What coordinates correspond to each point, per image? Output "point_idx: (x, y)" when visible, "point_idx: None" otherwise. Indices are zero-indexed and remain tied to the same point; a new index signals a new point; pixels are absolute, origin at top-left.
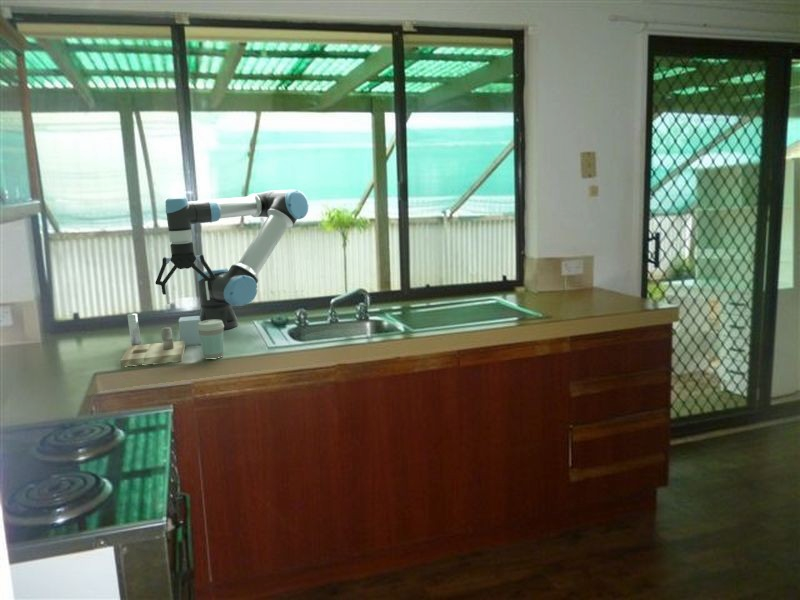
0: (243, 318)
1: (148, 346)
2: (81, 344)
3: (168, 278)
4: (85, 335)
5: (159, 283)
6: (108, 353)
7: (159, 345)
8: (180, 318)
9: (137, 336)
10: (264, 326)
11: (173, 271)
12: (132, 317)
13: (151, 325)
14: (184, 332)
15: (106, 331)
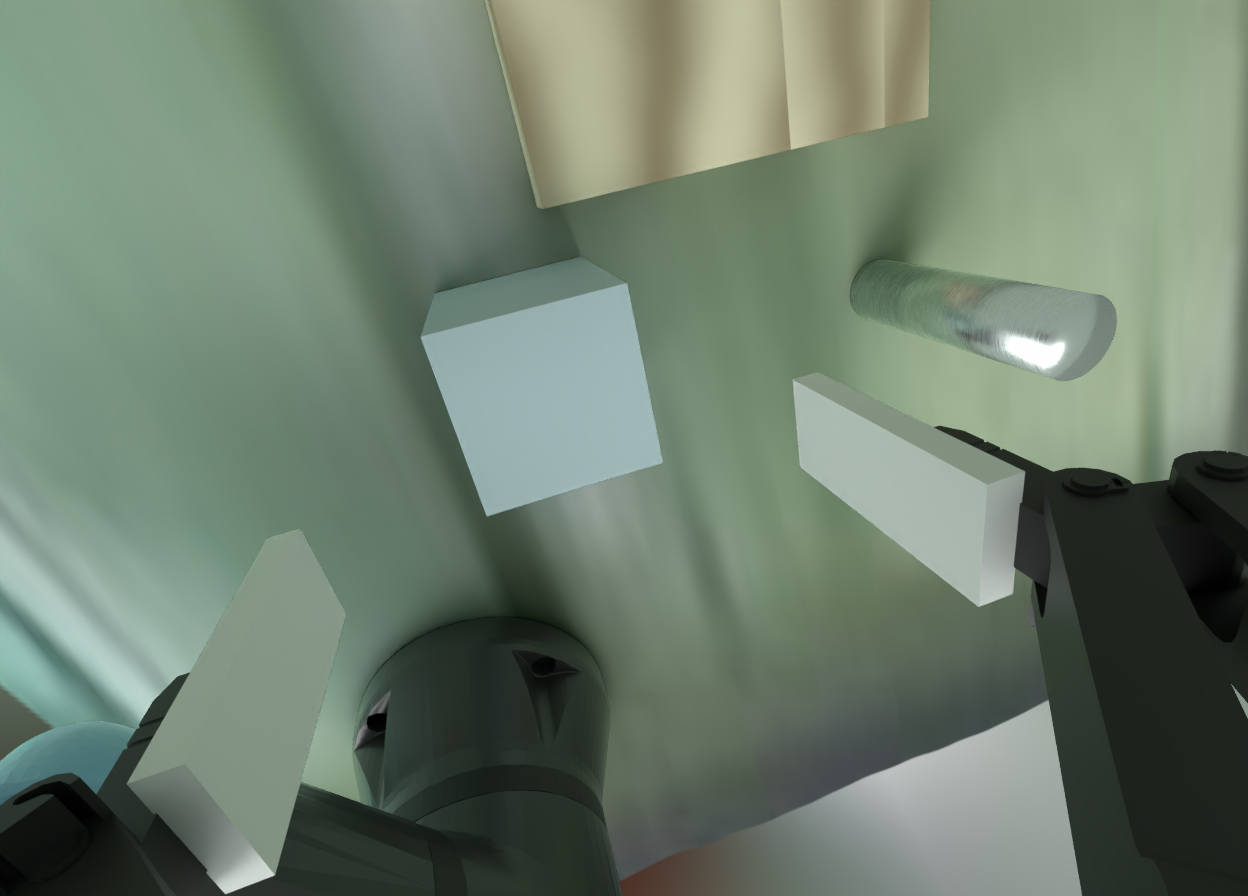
0: None
1: (788, 57)
2: (1144, 391)
3: (1093, 600)
4: None
5: (1160, 499)
6: (1015, 146)
7: (708, 70)
8: (644, 417)
9: (910, 281)
10: None
11: (1162, 827)
12: (1058, 293)
13: (866, 719)
14: (563, 278)
15: None
